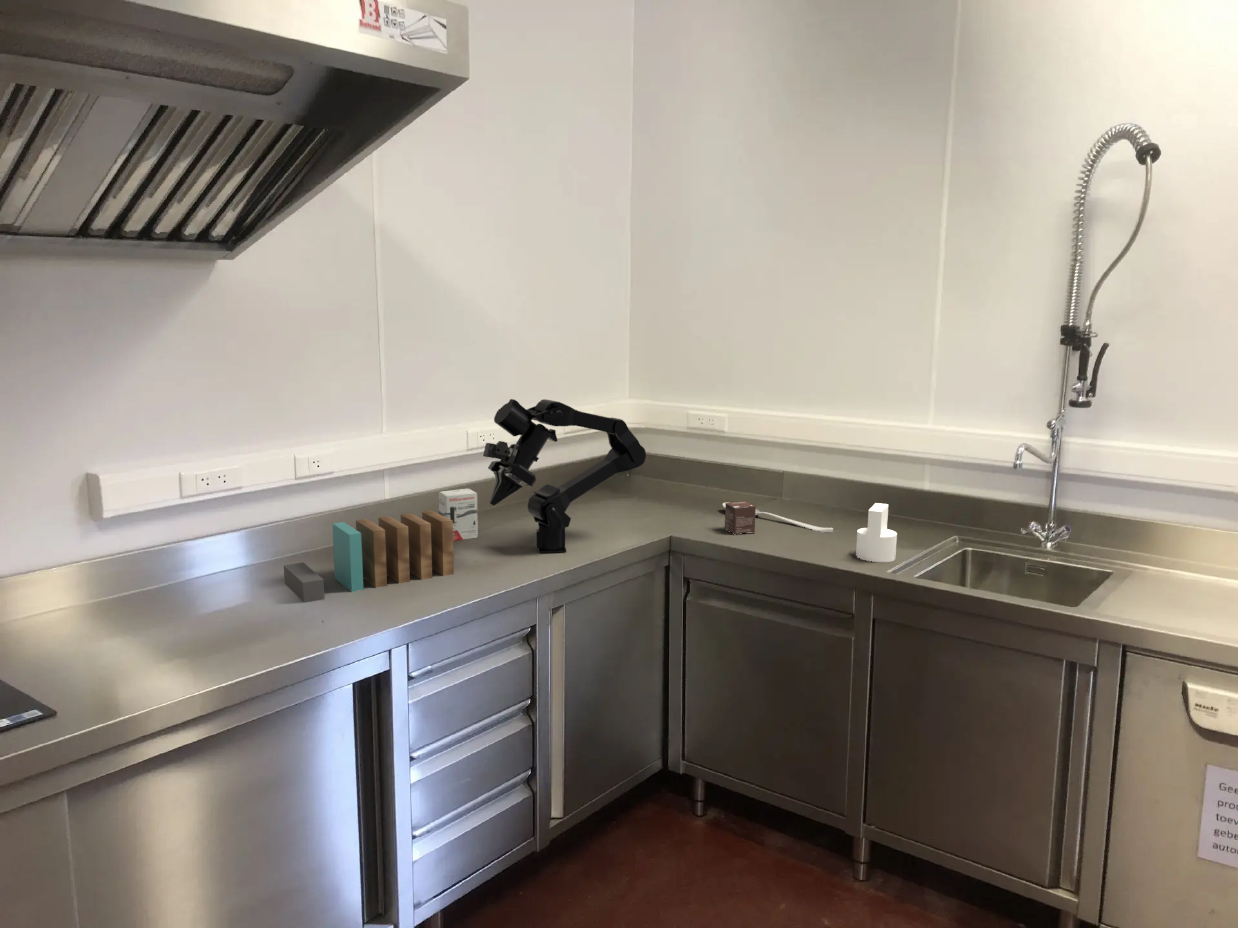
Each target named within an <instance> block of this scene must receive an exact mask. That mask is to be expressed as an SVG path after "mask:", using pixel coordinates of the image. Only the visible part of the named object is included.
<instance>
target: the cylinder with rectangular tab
mask: <svg viewBox="0 0 1238 928" xmlns="http://www.w3.org/2000/svg"><path fill="white" fill-rule="evenodd" d="M888 516H889V503H888V504H887V503H879V502H875V503H874V504H873V505H872V506H871V507H870V508H869V509H868V515H867V527H862V528H859V529H857V533H856V545H855V548H856V549H855V550H856V551H855V557H856V556H857V557H856V558H857V559H859V558H860V560H862V561H865V560H866V562H871V561H872V562H871V563H888V562H889V563H890V562H893V561H895V560H896V556H897V555H896V553H897V539H898V538H897V537H898V533H897V532H896V531H894V530H892V529H888V518H889V517H888Z"/></svg>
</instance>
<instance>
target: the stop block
mask: <svg viewBox="0 0 1238 928" xmlns="http://www.w3.org/2000/svg"><path fill="white" fill-rule="evenodd" d="M283 574H284V575H283V576H284V578H283V579H284V585H285V586H286V587H287V588H288V589H289V590H291V592H292V593H294V594H295V596H297V597H298V598H299V599H300V600H301V601H302V602H303V603H308V602H315V601H319V600H324V599H325V582H324V579H323V577H321V576H320V575H319V574H317V573H316V572H315V571H314V570H313V569H311V568H310V566H308V565H307V563H306V562H305V563H304V562H298V563H290V564H284V565H283Z"/></svg>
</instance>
